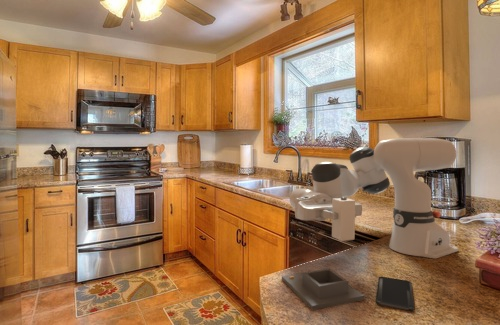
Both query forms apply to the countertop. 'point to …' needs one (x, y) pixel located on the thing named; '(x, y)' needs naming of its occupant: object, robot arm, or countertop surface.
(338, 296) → the dock
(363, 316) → the countertop surface
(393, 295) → the phone
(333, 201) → the cream square peg
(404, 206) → the robot arm
